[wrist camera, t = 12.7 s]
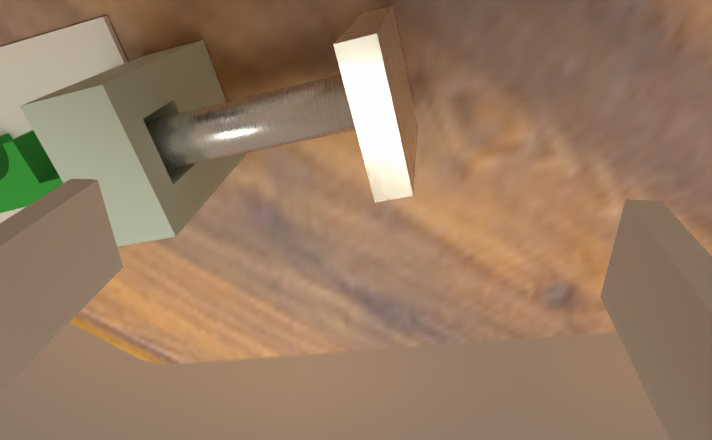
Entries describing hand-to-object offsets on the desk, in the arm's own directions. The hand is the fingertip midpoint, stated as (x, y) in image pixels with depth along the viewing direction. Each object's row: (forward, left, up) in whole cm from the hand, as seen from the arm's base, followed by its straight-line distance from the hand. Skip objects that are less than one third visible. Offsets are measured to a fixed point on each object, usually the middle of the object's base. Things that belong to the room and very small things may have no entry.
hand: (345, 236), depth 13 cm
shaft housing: (-1, -12, -17) cm, 21 cm away
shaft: (-1, -7, -14) cm, 16 cm away
